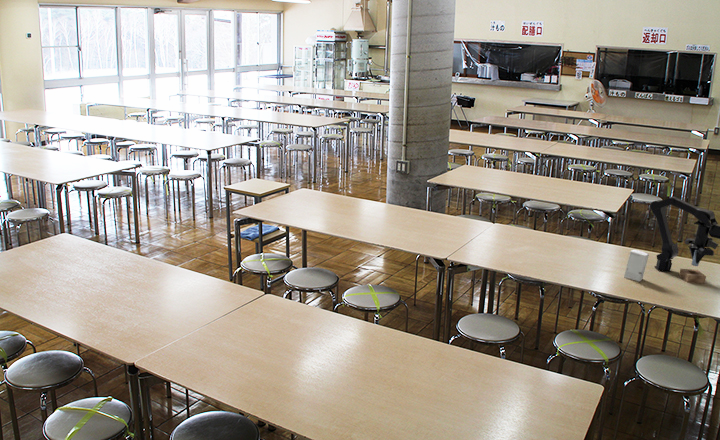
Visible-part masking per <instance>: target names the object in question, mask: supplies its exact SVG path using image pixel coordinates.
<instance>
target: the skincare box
mask: <svg viewBox="0 0 720 440" xmlns="http://www.w3.org/2000/svg"><path fill="white" fill-rule="evenodd" d="M649 255H650V253H648V252H645V251H642V250H638V249H632V250H630V252H629V256H628V259H627V263H626V267H625V272H624V274H623V275H624V277H623V278H625V279H628V280H633V281H635V282H641V281H642V280H643V279H644V275H645V271H646V267H647V264H648V260H649V257H650V256H649Z"/></svg>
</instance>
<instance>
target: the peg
mask: <svg viewBox="0 0 720 440" xmlns="http://www.w3.org/2000/svg"><path fill="white" fill-rule="evenodd" d="M695 251H698V250H695ZM691 260H692V259H691ZM699 264H700V262H699V263H698V264H697V263H696V258H695V252H694V256H693V260H692V261H691V266H693V267H694V266H695V267H698V266H699Z"/></svg>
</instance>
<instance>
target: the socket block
mask: <svg viewBox="0 0 720 440" xmlns="http://www.w3.org/2000/svg"><path fill="white" fill-rule="evenodd" d="M678 276H679V277H680V278H681V279H682V280H683V281H685V282H686V283H690V284H691V283H694V284H706V283H705V282H706V279H707V276H706V275H705V274H703V273H702V272H701V271H700V270H698V269H691V268H680V269H679V274H678Z"/></svg>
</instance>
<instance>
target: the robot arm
mask: <svg viewBox="0 0 720 440" xmlns="http://www.w3.org/2000/svg"><path fill="white" fill-rule="evenodd" d="M670 206H674V207H676V208H677V209H680V210H682V211H683V212H686V213H688V214H690V215H692V216H693V217H694V218H695V219H697V220H696V221H695V222H693V224H694V225H697V227H696V232H695V233H694V234H693V237H694V238H689V237H688V238H686V239H685V240H684V244H685V245H686V246H687V247H688V248H689V252H690V255H691V256H690V257H691V260H693V256H694V252H695V258H696V263H697V264H698V263H699V264H700V262H701V260H702V259H703V258H704V257H705V256H711V257H713V256H714V255H715V251H714V250H717V248H718V247H719V243H717V242H716V241H714V238H715V239H719V240H720V224H718V221H717V219H716V217H715V216H716V215H715V212H714V211H713V210H710V209H706V208H702V207H698V206H696V205H694V204H691V203H689V202H686V201H685V200H682V199H680V198H678V197H677V196H670V197H669V198H665V199H657V200H654V201H652V202H651V203H650V204H649V208H650V210H651V212H652V214H653V216H654V217H655V219H656V222H657V226H658V230H659V234H660V238H661V242H662V244H661V253H658V254H657V255H656V265H654V268H655V269H656V270H657V271H658V272H667V273H672V271H671V269H672V265H673V263H672V261H673V260H674V258H675V257H676V258H677V256H678V255H679V251H680V249H679V246H678V243H677V242H676V243H674V242H673V239H672V235H671V232H670V227H669V223H668V220H667V208H668V207H670ZM695 250H698V251H695Z"/></svg>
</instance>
